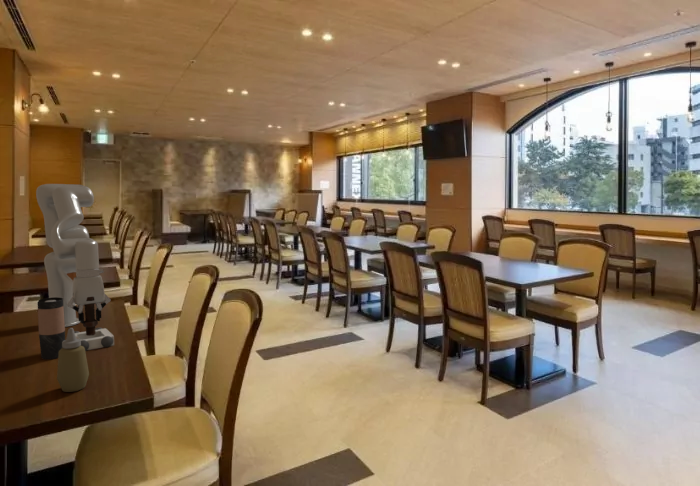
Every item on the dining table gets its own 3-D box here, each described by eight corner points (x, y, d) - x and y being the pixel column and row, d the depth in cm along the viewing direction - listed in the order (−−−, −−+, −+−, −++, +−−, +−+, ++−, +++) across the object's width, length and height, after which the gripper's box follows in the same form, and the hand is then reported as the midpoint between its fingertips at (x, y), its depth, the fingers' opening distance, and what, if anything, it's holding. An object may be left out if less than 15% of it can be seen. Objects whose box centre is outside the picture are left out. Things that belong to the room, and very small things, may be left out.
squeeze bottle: (66, 383, 140) (63, 324, 138) (94, 382, 141) (91, 324, 139) (51, 394, 132) (48, 332, 130) (81, 394, 133) (78, 332, 131)
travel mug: (71, 353, 165) (68, 298, 163) (51, 361, 158) (48, 303, 156) (55, 351, 168) (52, 296, 166) (35, 358, 160) (31, 301, 158)
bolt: (91, 337, 172) (89, 297, 170) (79, 336, 173) (77, 297, 171) (102, 333, 177) (100, 294, 176) (90, 332, 178) (88, 293, 177)
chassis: (67, 342, 177) (67, 332, 177) (105, 336, 185) (105, 326, 185) (75, 353, 166) (74, 342, 165) (115, 345, 174) (114, 335, 174)
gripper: (110, 270, 181) (112, 315, 183) (59, 274, 170) (62, 323, 172) (115, 272, 175) (117, 320, 177) (63, 277, 165) (65, 327, 166)
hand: (90, 321), depth 175 cm, fingers closed on bolt, 4 cm apart
